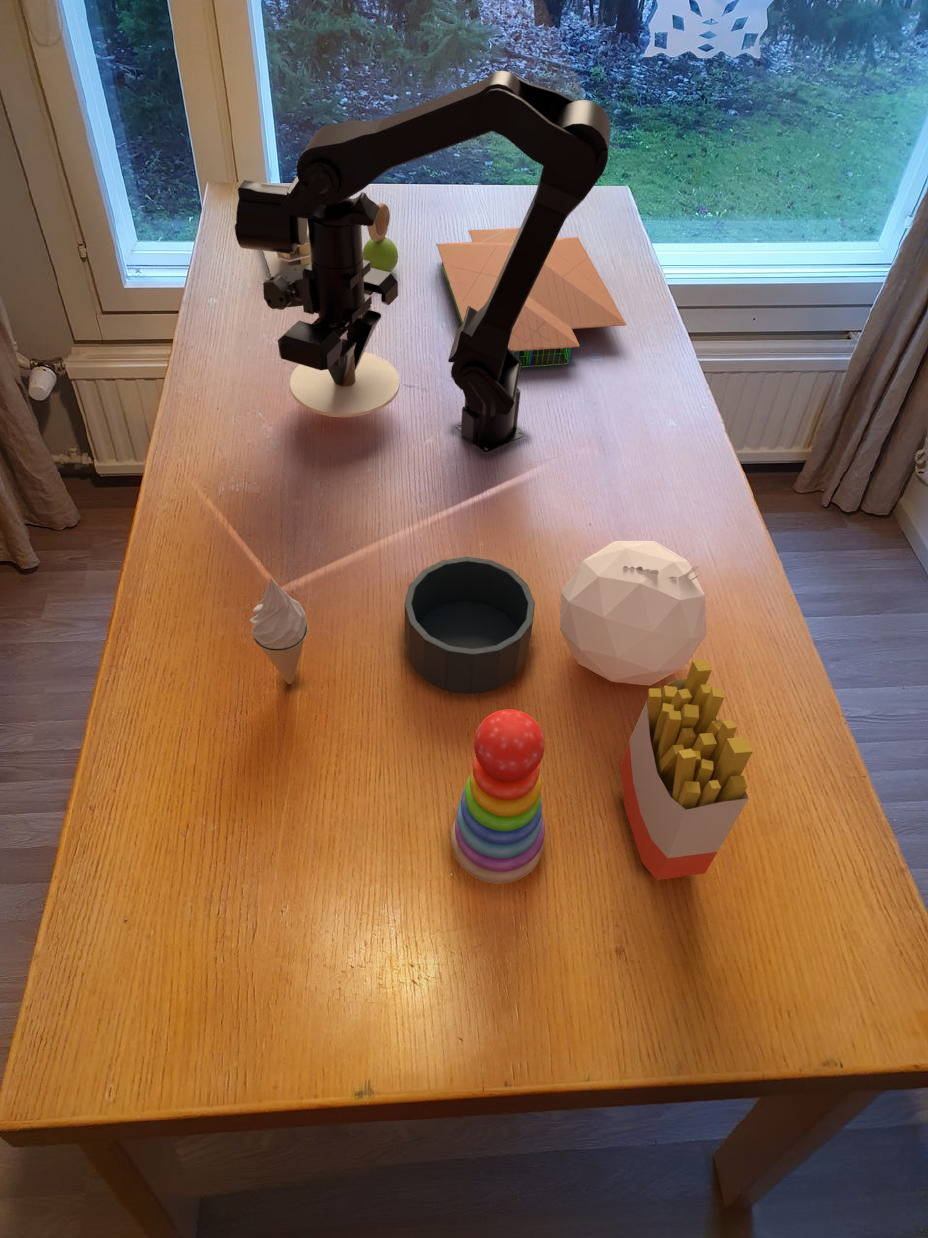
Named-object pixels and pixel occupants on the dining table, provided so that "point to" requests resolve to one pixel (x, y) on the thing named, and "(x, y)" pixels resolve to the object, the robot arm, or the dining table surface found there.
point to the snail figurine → (380, 243)
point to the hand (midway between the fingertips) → (345, 377)
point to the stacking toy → (502, 801)
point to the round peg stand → (347, 388)
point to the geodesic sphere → (633, 612)
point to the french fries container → (683, 776)
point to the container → (468, 624)
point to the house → (532, 290)
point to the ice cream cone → (280, 629)
